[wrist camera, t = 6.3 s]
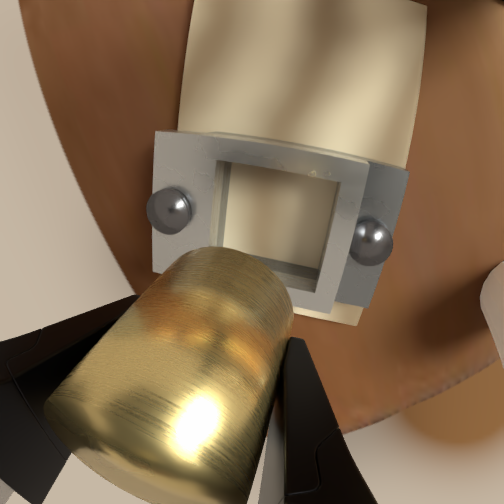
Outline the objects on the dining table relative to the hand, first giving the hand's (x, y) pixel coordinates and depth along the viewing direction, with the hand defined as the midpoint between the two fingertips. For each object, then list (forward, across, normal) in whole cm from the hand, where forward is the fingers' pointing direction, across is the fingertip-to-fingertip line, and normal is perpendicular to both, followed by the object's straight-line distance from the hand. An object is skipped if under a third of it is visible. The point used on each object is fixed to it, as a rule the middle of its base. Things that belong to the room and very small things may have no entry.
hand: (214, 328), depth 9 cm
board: (+13, 0, -4) cm, 13 cm away
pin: (+1, 0, 0) cm, 1 cm away
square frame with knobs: (+13, 0, 0) cm, 13 cm away
